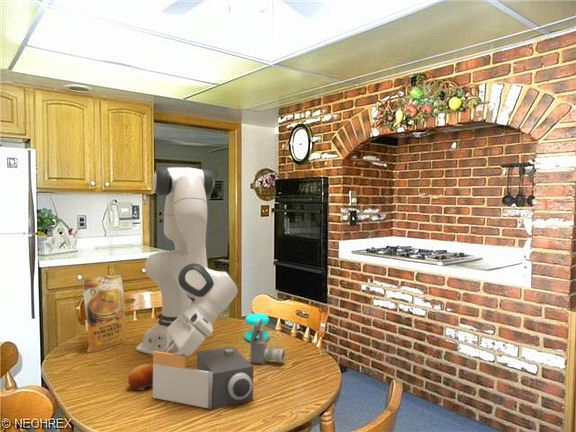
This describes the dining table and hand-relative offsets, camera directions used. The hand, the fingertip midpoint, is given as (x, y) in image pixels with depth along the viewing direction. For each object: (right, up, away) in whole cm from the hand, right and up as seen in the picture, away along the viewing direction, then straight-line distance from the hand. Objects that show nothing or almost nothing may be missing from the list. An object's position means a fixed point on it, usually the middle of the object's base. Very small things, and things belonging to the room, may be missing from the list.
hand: (164, 355), depth 118 cm
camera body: (+17, -13, +4) cm, 22 cm away
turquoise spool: (+23, -11, +52) cm, 58 cm away
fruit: (-9, -12, +7) cm, 17 cm away
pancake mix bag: (-36, -11, +40) cm, 55 cm away
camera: (+29, -12, +27) cm, 42 cm away
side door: (+6, -12, -4) cm, 14 cm away
